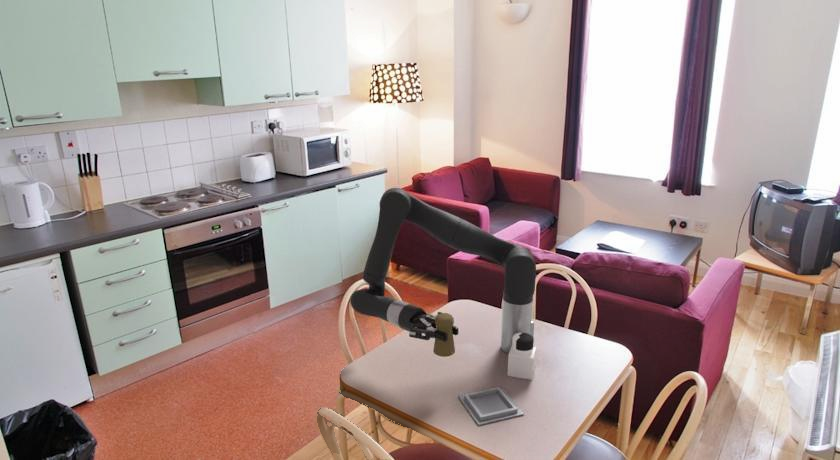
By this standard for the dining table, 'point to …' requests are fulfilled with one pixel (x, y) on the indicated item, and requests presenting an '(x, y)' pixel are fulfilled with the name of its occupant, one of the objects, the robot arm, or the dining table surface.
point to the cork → (444, 325)
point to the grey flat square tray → (490, 406)
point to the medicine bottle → (522, 356)
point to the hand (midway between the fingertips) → (452, 334)
